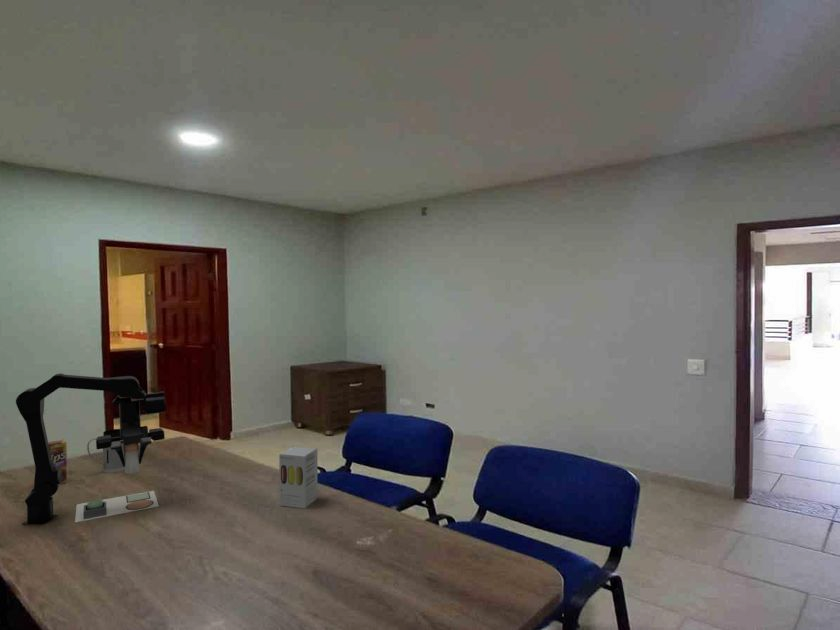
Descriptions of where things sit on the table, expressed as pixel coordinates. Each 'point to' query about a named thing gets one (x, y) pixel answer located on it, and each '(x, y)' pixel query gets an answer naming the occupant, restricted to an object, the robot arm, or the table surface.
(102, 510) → the button housing
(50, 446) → the candy box
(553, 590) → the table surface
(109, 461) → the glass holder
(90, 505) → the button
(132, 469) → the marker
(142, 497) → the picture board
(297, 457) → the supplement box
